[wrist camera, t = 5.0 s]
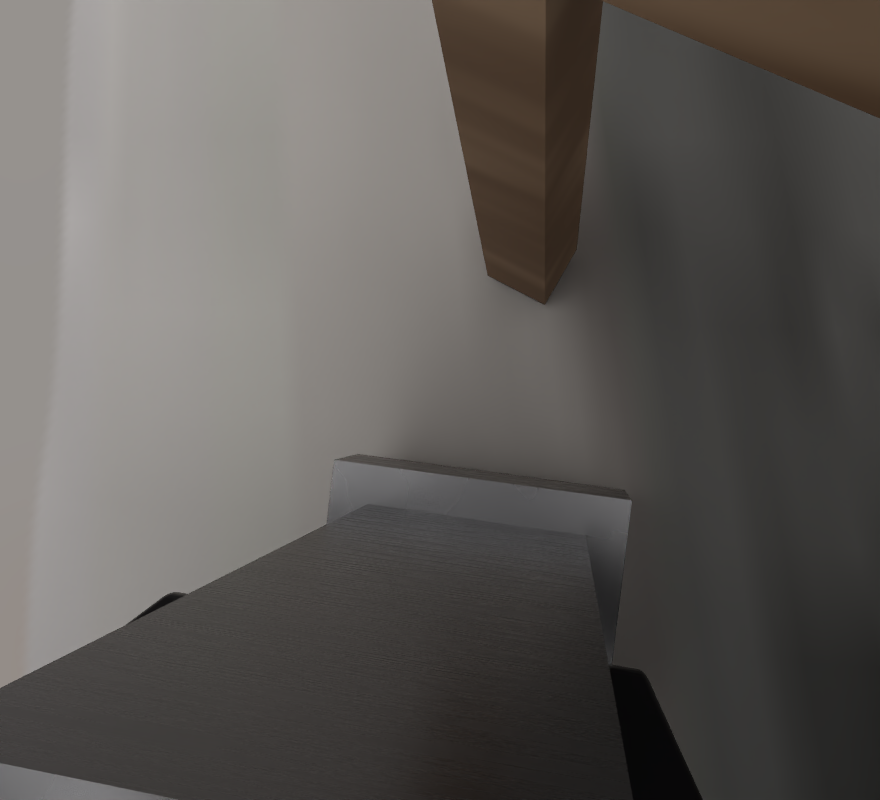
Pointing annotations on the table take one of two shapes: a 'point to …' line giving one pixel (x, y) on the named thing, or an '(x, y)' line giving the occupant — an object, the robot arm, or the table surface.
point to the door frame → (571, 92)
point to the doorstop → (359, 659)
